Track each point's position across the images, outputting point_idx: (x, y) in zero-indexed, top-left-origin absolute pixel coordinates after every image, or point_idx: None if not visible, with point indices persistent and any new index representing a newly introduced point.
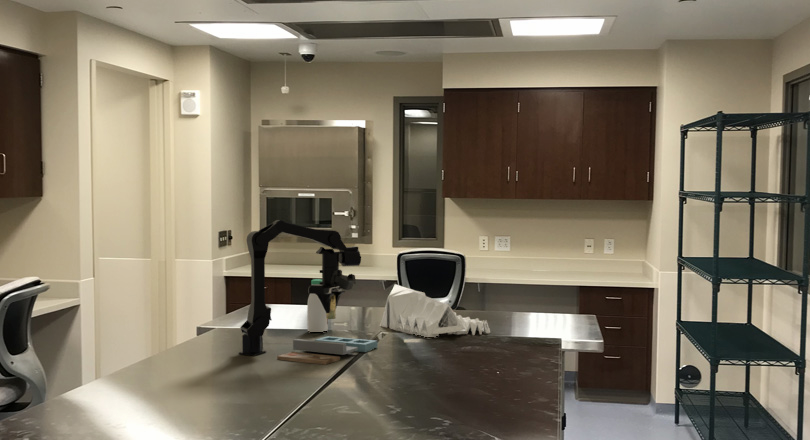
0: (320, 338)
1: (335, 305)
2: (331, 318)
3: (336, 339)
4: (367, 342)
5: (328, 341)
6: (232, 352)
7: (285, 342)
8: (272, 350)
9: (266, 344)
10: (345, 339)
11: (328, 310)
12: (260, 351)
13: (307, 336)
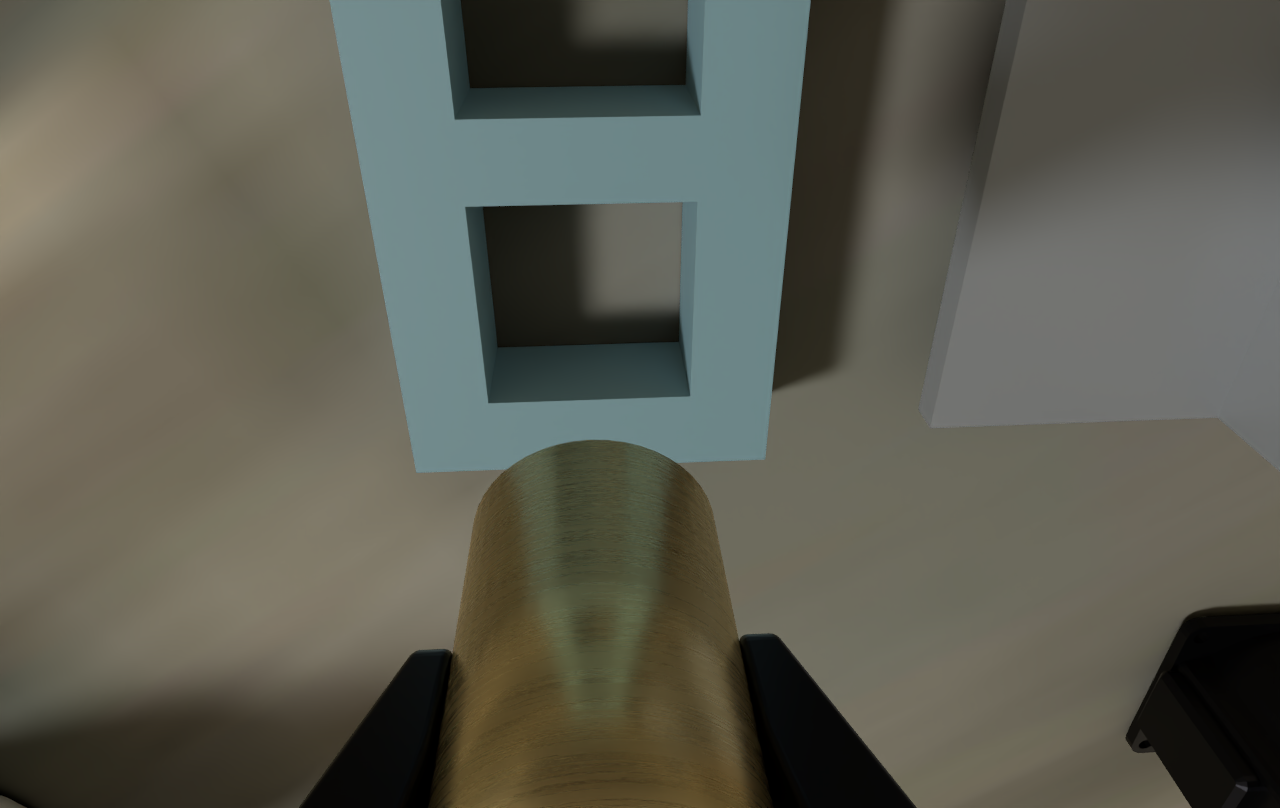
0: None
1: (517, 784)
2: (690, 484)
3: (590, 195)
4: None
5: (787, 224)
6: None
7: None
8: (1056, 633)
9: None
10: (453, 75)
11: (821, 695)
12: (1268, 638)
13: (232, 776)
